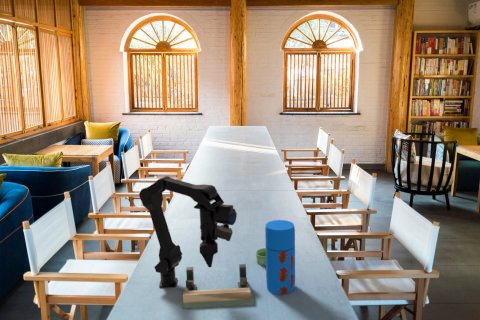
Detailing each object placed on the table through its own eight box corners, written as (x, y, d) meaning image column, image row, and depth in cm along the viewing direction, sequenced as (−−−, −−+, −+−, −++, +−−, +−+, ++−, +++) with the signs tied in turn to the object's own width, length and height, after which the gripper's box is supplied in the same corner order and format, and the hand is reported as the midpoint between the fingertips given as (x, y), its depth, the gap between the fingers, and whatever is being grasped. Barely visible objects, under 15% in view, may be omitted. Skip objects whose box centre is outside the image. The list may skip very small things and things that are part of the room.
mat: (184, 296, 166) (184, 294, 166) (252, 292, 167) (252, 291, 167) (182, 308, 158) (182, 307, 158) (254, 304, 159) (254, 303, 159)
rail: (184, 298, 164) (183, 291, 163) (250, 295, 165) (249, 287, 164) (183, 303, 161) (182, 295, 160) (250, 299, 162) (250, 291, 161)
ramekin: (272, 255, 198) (271, 246, 198) (280, 264, 190) (280, 254, 189) (252, 259, 196) (252, 249, 195) (260, 268, 187) (260, 258, 186)
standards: (185, 286, 174) (184, 267, 172) (248, 283, 175) (247, 263, 173) (184, 295, 167) (183, 275, 165) (249, 292, 168) (248, 272, 166)
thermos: (266, 280, 176) (264, 220, 171) (293, 280, 176) (293, 219, 170) (266, 295, 165) (265, 230, 160) (296, 294, 165) (295, 230, 160)
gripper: (231, 229, 153) (233, 271, 156) (229, 211, 171) (231, 249, 174) (198, 230, 152) (200, 273, 155) (200, 212, 170) (202, 251, 174)
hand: (210, 261), depth 165 cm, fingers open, 9 cm apart
